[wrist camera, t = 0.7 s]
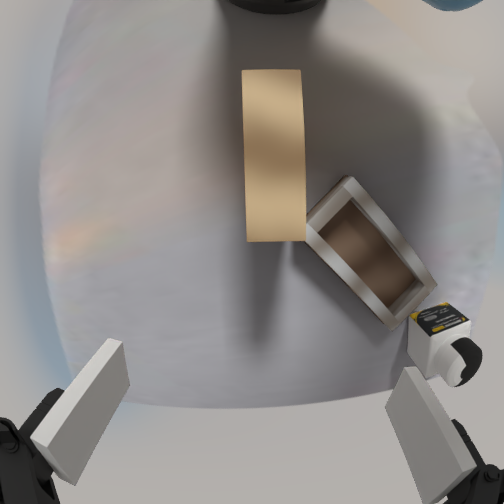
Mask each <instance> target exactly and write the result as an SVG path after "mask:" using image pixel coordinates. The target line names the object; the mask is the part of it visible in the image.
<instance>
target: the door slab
mask: <svg viewBox="0 0 504 504" xmlns="http://www.w3.org/2000/svg"><path fill="white" fill-rule="evenodd" d="M242 100H243V135H244V168H245V200H246V230H247V242H270V241H306V167H305V137H304V115H303V98H302V83H301V70H291V69H259V70H242Z"/></svg>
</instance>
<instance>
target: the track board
mask: <svg viewBox="0 0 504 504" xmlns="http://www.w3.org/2000/svg"><path fill="white" fill-rule="evenodd" d="M304 242H305V243H306V244H307V245H308V246H309V247H310V248H311V249H312V250H313V251H314V252H315V253H316V254H317V255H318V256H319V257H320V258H321V259H322V260H323V261H324V262H325V263H326V264H327V265H328V266H329V267H330V268H331V269H332V270H333V271H334V272H335V273H336V274H337V275H338V276H339V277H340V279H341V280H342V281H343V282H344V283H345V284H346V285H347V286H348V287H349V288H350V289H351V290H352V291H353V292H354V293H355V294H356V295H357V296H358V297H359V298H360V299H361V300H362V301H363V303H364V304H365V305H366V306H367V307H368V308H369V309H370V310H371V311H372V312H373V313H374V314H375V315H376V316H377V317H378V319H379V320H380V321H381V322H382V323H383V324H385V325H386V326H387V327H388V328H389V329H390V330H391V331H393V330H394V329H395V328H396V327H397V326H398V325H399V324H400V323H401V322H402V321H403V320H404V319H405V318H406V317H407V316H408V315H409V314H410V313H411V312H412V311H413V310H414V309H415V308H416V307H417V306H418V305H419V304H420V303H421V302H422V301H423V300H424V299H425V298H426V297H427V296H428V295H429V294H430V292H431V291H432V290H433V289H434V288H435V287H436V286H437V283H436V282H435V280H434V279H433V277H432V276H431V274H430V273H429V271H428V270H427V269H426V267H425V266H424V264H423V263H422V261H421V260H420V259H419V257H418V256H417V255H416V253H415V252H414V250H413V249H412V248H411V246H410V245H409V244H408V242H407V241H406V240H405V238H404V237H403V236H402V235H401V233H400V232H399V231H398V229H397V228H396V227H395V226H394V224H393V223H392V222H391V221H390V219H389V218H388V217H387V216H386V214H385V213H384V212H383V211H382V210H381V208H380V207H379V206H378V205H377V204H376V202H375V201H374V200H373V199H372V198H371V197H370V195H369V194H368V193H367V192H366V191H365V190H364V189H363V187H362V186H361V185H360V184H359V183H358V182H357V181H356V180H355V179H354V177H353V176H351V177H349V176H348V175H345V176H344V177H343V178H342V179H341V180H340V181H339V182H338V183H337V184H336V185H335V186H334V187H333V188H332V189H331V190H330V191H329V192H328V193H327V194H326V195H325V196H324V197H323V198H322V199H321V200H320V201H319V202H318V203H317V204H316V205H315V206H314V207H313V208H312V209H311V211H310V212H309V213H308V214H307V215H306V241H304Z"/></svg>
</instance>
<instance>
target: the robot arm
mask: <svg viewBox="0 0 504 504" xmlns="http://www.w3.org/2000/svg"><path fill="white" fill-rule="evenodd" d="M229 1H230V2H232V3H233V4H235V5H237V6H239V7H242V8H244V9H247V10H251V11H255V12H260V13H268V14H287V13H294V12H299V11H302V10H305V9H308V8H310V7H312V6H314V5H316V4H317V3H318V2H320V1H321V0H229ZM423 1H424V2H426V3H428V4H429V5H431V6H432V7H434V8H436V9H439V10H442V11H460V10H464V9H467V8H469V7H472V6H473V5H475V4H478V3H479V2H481V1H482V0H423ZM129 386H130V382H129V377H128V372H127V366H126V361H125V354H124V348H123V342H122V341H118V340H114V339H110V338H108V339H107V340H106V342H105V343H104V344H103V345H102V346H101V347H100V349H99V350H98V351H97V352H96V353H95V355H94V356H93V357H92V358H91V359H90V361H89V362H88V363H87V364H86V365H85V367H84V368H83V369H82V370H81V372H80V373H79V374H78V375H77V377H76V378H75V379H74V380H73V382H72V383H71V384H70V385H69V387H68V388H67V389H66V390H65V391H64V390H62V389H60V388H56V389H55V390H53V391H51V392H49V393H48V394H47V395H46V397H45V398H44V399H43V400H42V402H41V403H40V404H39V405H38V406H37V407H36V408H37V409H35V410H34V411H33V413H32V414H31V415H30V416H29V417H28V419H27V420H26V421H25V422H24V424H23V425H22V426H21V428H20V429H19V430H17V428H16V427H15V425H14V424H13V423H12V421H11V420H9V419H7V418H2V417H0V504H60V501H59V498H58V495H57V493H56V489H55V486H54V482H53V479H52V478H51V475H52V473H53V471H54V472H55V473H56V474H57V476H58V477H59V478H60V479H62V480H64V481H66V482H68V483H70V484H72V485H74V486H75V485H76V484H77V482H78V480H79V478H80V476H81V474H82V472H83V470H84V468H85V466H86V464H87V462H88V460H89V459H90V457H91V455H92V453H93V451H94V449H95V447H96V445H97V444H98V442H99V440H100V438H101V436H102V434H103V433H104V431H105V429H106V427H107V425H108V423H109V422H110V420H111V418H112V416H113V414H114V413H115V411H116V409H117V407H118V406H119V404H120V402H121V400H122V398H123V397H124V395H125V393H126V391H127V390H128V388H129ZM385 409H386V411H387V413H388V416H389V418H390V420H391V423H392V425H393V427H394V430H395V432H396V435H397V437H398V440H399V442H400V445H401V447H402V449H403V452H404V454H405V457H406V460H407V462H408V465H409V467H410V470H411V472H412V475H413V478H414V481H415V483H416V486H417V489H418V491H419V494H420V497H421V500H422V503H423V504H434V503H437V502H439V501H440V500H441V499H442V498H444V497H445V496H446V495H447V498H448V500H447V501H446V502H444V503H443V504H503V502H504V469H503V470H499V469H498V468H497V466H494V465H492V464H488V465H486V464H485V463H484V461H483V459H482V458H481V456H480V454H479V452H478V451H477V449H476V447H475V445H474V444H473V442H472V441H471V439H470V437H469V436H468V435H467V432H466V430H465V429H464V427H463V426H462V425H461V424H460V423H459V422H457V420H455V419H453V420H450V418H449V416H448V415H447V413H446V411H445V410H444V408H443V407H442V405H441V403H440V402H439V400H438V399H437V397H436V396H435V394H434V392H433V391H432V389H431V388H430V386H429V385H428V383H427V382H426V380H425V378H424V377H423V375H422V374H421V372H420V371H419V369H418V368H417V366H415V367H404V368H403V371H402V373H401V375H400V377H399V379H398V382H397V384H396V386H395V388H394V390H393V392H392V394H391V396H390V398H389V400H388V402H387V404H386V406H385Z"/></svg>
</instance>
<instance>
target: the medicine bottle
mask: <svg viewBox="0 0 504 504" xmlns="http://www.w3.org/2000/svg"><path fill="white" fill-rule="evenodd" d="M470 328H471V321H470V320H469V319H468V318H467V317H465V316H464V315H463V314H461V313H460V312H459V311H458V310H456V309H455V308H454V307H452V306H451V305H450V304H449V303H447V302H444V303H441V304H438V305H435V306H432V307H429V308H427V309H424V310H421V311H418V312H414V313H411V314H410V315H409V325H408V347H407V353H408V355H409V356H410V357H411V359H412V360H413V361H414V363H415V364H416V365H417V367H418V368H419V369H420V371H421V372H422V374H423V375H424V376H425V377H426V378H429V377H431V376H434V375H436V374H438V373H439V374H440V375H441V377H442V378H443V379H444V381H445V382H446V383H447V384H448V385H449V386H450V387H457V386H461V385H463V384H465V383H466V382H468V381H469V380H470V379H471V378H472V377H473V376H474V375H475V373H476V372H477V370H478V369H479V367H480V364H481V362H482V350H481V349H480V348H479V347H478V346H477V345H476V344H475V343H474V342H473V341H472V340H471V339H470V338H469V334H470Z"/></svg>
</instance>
